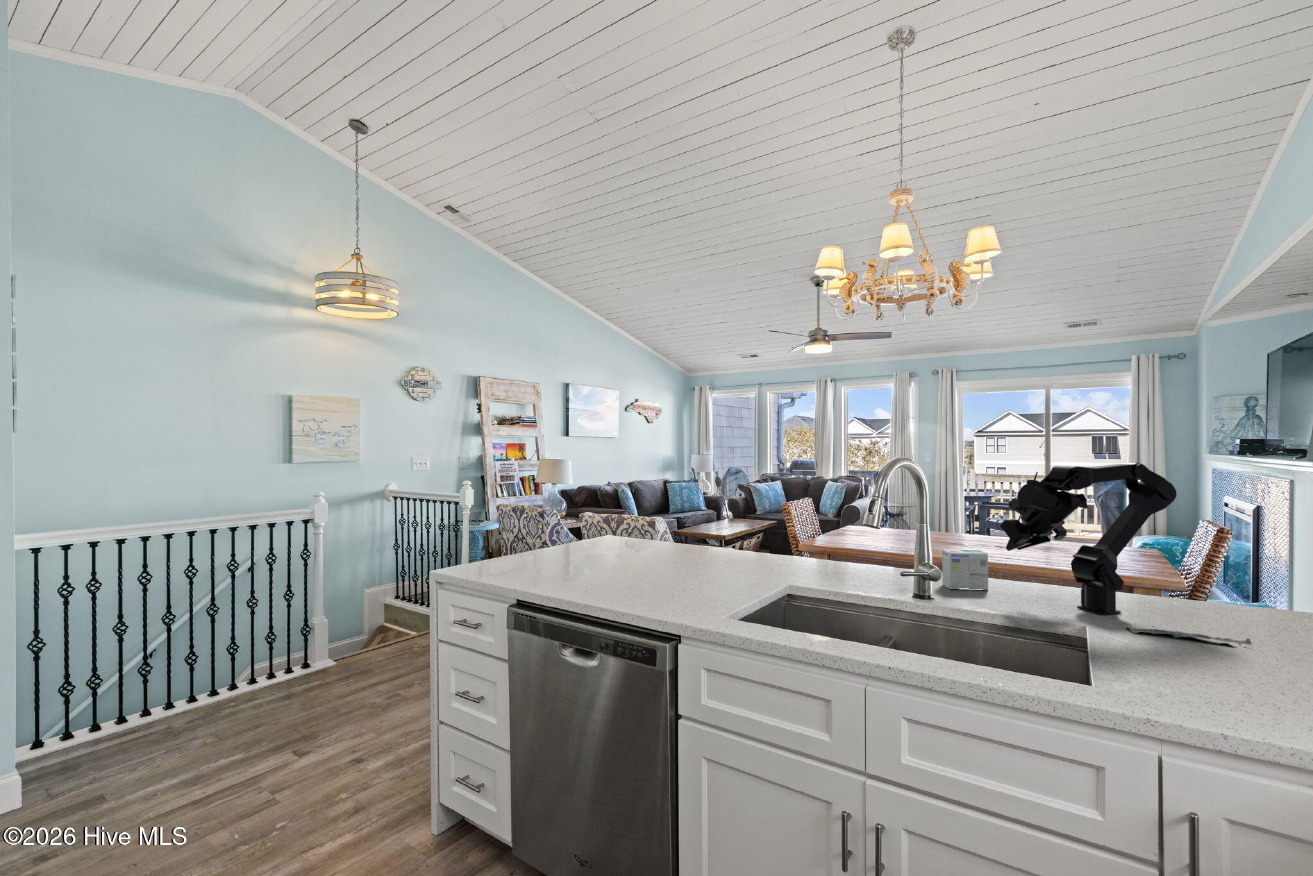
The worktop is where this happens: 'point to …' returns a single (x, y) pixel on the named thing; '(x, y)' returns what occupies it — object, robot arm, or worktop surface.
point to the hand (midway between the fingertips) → (1012, 548)
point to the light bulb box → (965, 569)
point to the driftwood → (1180, 634)
